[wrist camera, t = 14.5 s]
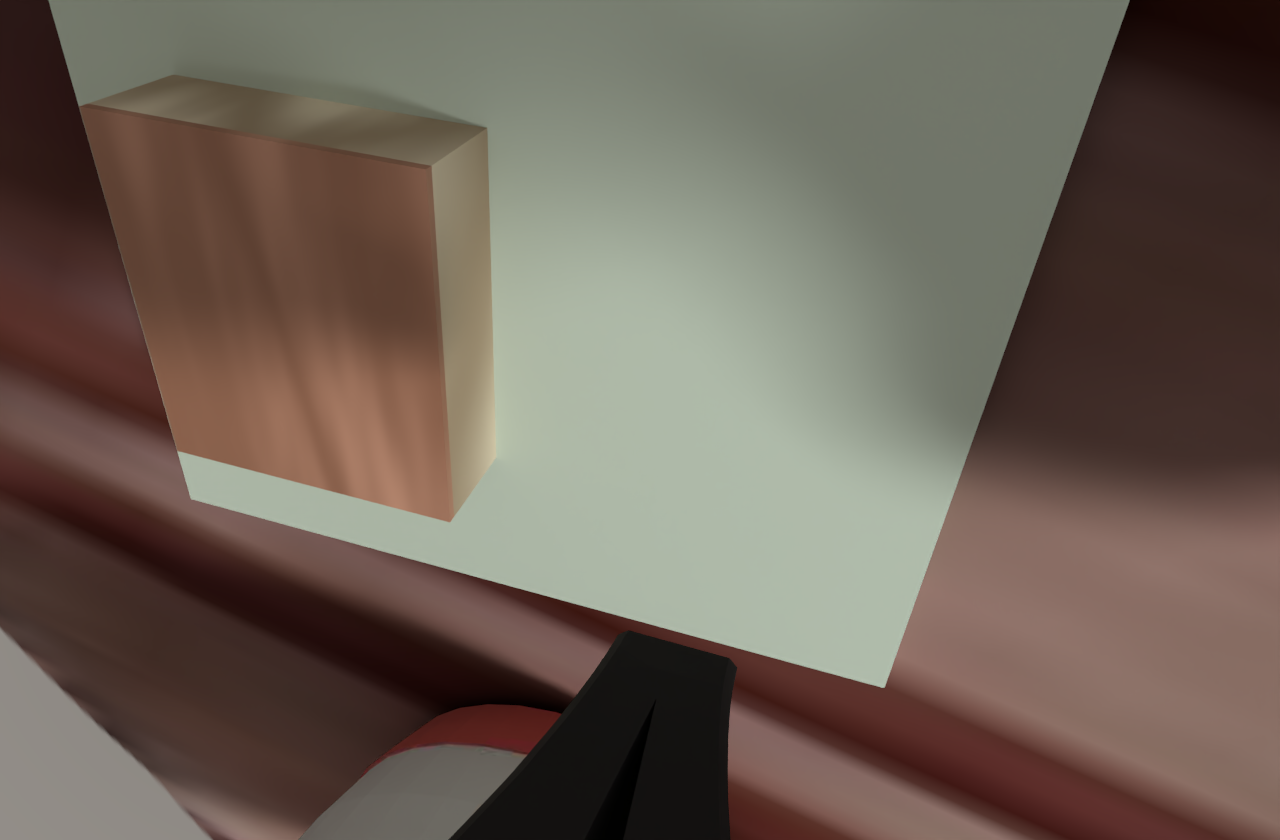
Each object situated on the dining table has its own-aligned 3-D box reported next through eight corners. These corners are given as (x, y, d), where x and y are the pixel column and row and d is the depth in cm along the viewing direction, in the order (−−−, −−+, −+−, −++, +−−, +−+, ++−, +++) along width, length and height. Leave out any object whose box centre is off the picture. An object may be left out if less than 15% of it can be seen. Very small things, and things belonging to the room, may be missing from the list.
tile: (426, 169, 15) (79, 106, 17) (450, 522, 20) (177, 450, 21) (487, 127, 17) (173, 74, 19) (496, 457, 22) (244, 396, 23)
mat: (1187, -179, 12) (1193, -179, 12) (885, 675, 23) (884, 688, 22) (-14, -283, 16) (-33, -285, 16) (200, 490, 26) (191, 499, 26)
